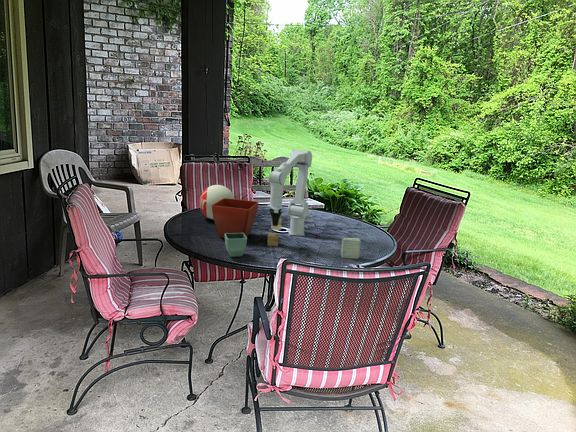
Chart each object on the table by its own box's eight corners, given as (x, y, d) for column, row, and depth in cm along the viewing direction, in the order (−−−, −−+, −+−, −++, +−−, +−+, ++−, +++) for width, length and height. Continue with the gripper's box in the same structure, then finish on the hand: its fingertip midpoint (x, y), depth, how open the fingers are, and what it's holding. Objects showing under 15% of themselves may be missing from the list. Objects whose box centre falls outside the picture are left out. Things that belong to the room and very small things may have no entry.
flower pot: (226, 258, 202) (227, 238, 200) (223, 252, 210) (224, 233, 208) (246, 258, 205) (247, 238, 202) (243, 251, 213) (243, 232, 211)
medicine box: (357, 256, 217) (359, 238, 215) (359, 259, 213) (360, 240, 211) (340, 255, 217) (342, 237, 215) (341, 258, 212) (343, 240, 210)
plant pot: (247, 243, 227) (249, 209, 223) (210, 238, 230) (210, 205, 226) (257, 233, 245) (259, 201, 241) (222, 229, 248) (223, 197, 244)
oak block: (271, 227, 227) (271, 216, 226) (280, 227, 228) (281, 216, 226) (271, 229, 223) (272, 218, 222) (280, 230, 223) (281, 218, 222)
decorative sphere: (201, 214, 276) (201, 181, 271) (235, 216, 277) (236, 183, 272) (196, 223, 256) (197, 187, 252) (233, 224, 258) (234, 189, 253)
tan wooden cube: (267, 242, 229) (267, 232, 228) (277, 243, 230) (278, 233, 228) (267, 245, 224) (268, 235, 223) (277, 246, 225) (278, 236, 224)
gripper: (267, 193, 228) (266, 220, 232) (268, 199, 214) (266, 227, 217) (282, 193, 229) (280, 220, 232) (283, 199, 215) (281, 228, 218)
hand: (274, 224), depth 225 cm, fingers closed on oak block, 4 cm apart
